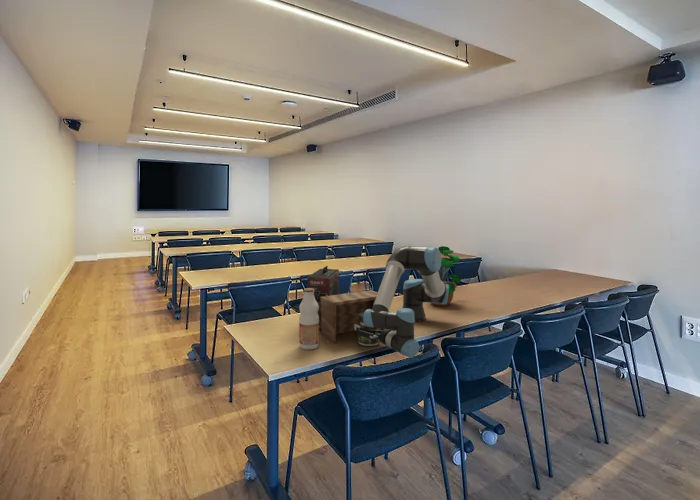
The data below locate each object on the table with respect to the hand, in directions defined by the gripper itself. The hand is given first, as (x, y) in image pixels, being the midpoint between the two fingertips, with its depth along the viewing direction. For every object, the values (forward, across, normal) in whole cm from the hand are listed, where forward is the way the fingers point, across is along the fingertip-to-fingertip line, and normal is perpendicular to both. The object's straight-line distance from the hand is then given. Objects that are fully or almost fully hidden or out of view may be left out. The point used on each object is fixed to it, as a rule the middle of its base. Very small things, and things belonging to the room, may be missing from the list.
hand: (364, 325), depth 192 cm
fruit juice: (+6, -27, -8) cm, 29 cm away
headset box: (+33, -5, -8) cm, 35 cm away
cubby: (+10, 0, -8) cm, 13 cm away
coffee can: (-4, 0, -8) cm, 9 cm away
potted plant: (+29, +85, -8) cm, 90 cm away
